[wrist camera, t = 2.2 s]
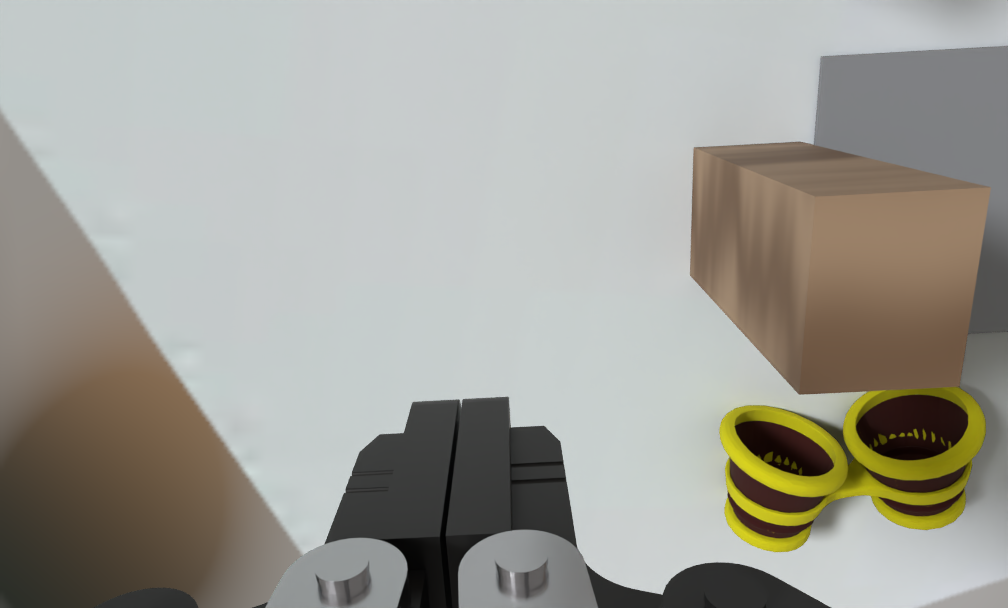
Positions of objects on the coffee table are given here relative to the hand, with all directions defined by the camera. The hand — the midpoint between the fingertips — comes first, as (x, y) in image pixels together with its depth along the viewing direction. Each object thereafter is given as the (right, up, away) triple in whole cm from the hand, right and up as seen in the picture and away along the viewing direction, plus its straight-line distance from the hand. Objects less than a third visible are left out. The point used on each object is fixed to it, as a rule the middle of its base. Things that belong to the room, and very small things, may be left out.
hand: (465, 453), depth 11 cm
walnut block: (+10, +6, +16) cm, 20 cm away
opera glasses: (+14, -4, +20) cm, 25 cm away
